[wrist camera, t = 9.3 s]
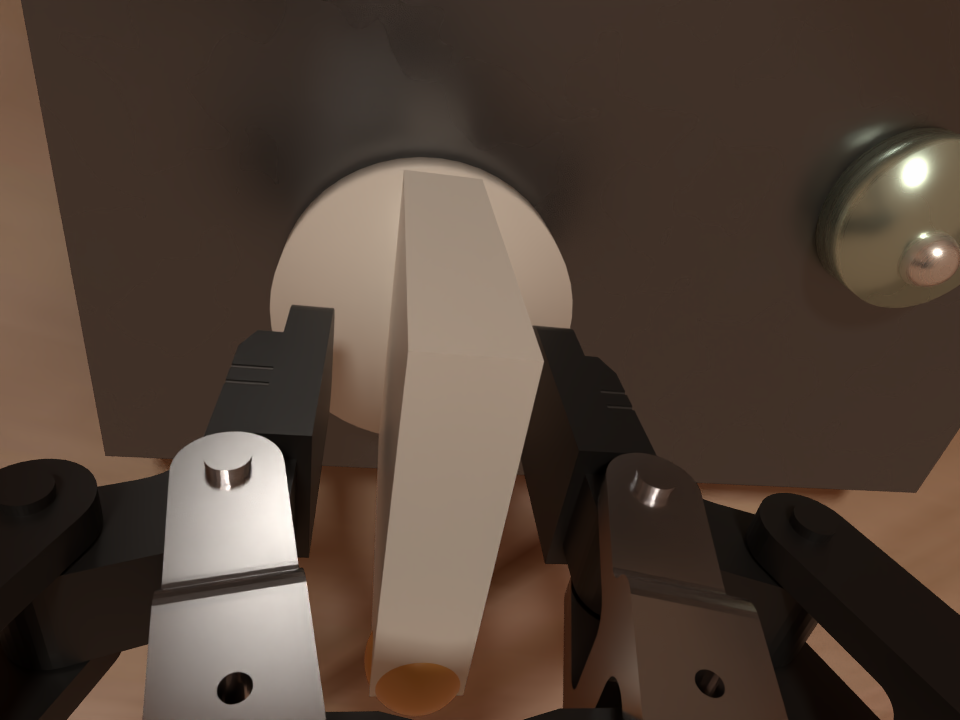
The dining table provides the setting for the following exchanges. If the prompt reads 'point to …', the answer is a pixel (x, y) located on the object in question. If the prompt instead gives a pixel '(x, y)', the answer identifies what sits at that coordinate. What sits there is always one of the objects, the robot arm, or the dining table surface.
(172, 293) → the levelling base
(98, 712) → the dining table surface
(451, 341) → the knob
